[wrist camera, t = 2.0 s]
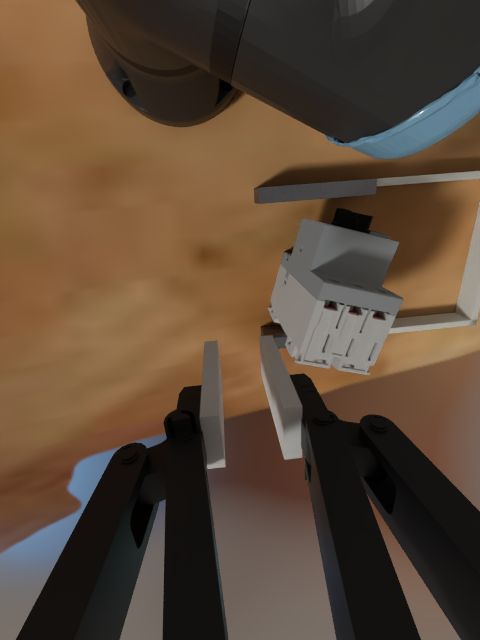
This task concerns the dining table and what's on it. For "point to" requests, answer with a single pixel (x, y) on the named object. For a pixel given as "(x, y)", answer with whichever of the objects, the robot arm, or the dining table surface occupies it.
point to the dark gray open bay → (308, 193)
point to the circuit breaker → (336, 293)
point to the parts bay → (476, 281)
